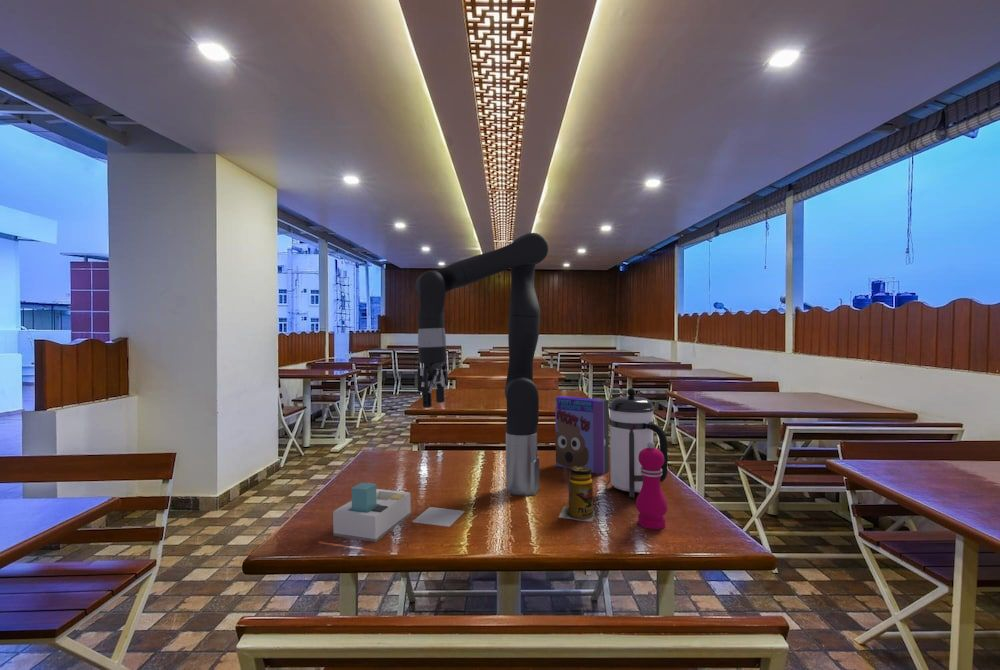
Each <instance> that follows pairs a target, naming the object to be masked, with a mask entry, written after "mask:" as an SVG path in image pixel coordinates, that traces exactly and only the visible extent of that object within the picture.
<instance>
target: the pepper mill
mask: <svg viewBox="0 0 1000 670" xmlns="http://www.w3.org/2000/svg"><path fill="white" fill-rule="evenodd" d="M647 446H648V448H644V449H642V450H641V451H640V453H639V456H638V460H639V463H640V464H641V465H642V467H641V474H642V476H643V485H642V488H641V491H640V492H638V495H637V497H636V501H635V502H636V503H635V507H636V510H637V511H638V513H639V514H638V516H637V523H638V525H639V526H640V527H643V528H645V529H647V530H663V529H664V528H665V527H666V517H665V515H666V513H667V512H668V503H667V500H666V497H665V495H664V493H663V489H662V486H661V482H660V476H662V469H661V467H662V466H663V464H664V455H663V453H662V452H661V451H660V449H658V448H656V443H655V441H654V442H651V441H650V442H648V444H647Z"/></svg>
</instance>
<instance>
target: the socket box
mask: <svg viewBox="0 0 1000 670" xmlns="http://www.w3.org/2000/svg"><path fill="white" fill-rule="evenodd" d="M376 505H377V507H375V508H373V509H372V510H371V511H370V512H368V513H364V512H356V511H352V500H350V501H348V502H347V503H344V505H341V506H339V507H338V508H336V509H335V510H332V511H333V512H332V514H333V515H332V516H333V517H332V518H333V519H332V521H333V522H332V523H333V525H332V526H333V530H332V531H333V537H339V538H345V539H352V540H360V541H366V542H373V543H377V542H378V541H379V540H380V539H381V538H383V537H384V536H385V535H386V534H388V533H389V532H391V530H392V531H393V529H394V528H396V527H397V526H398V525H400V524H401V523H402V522H403V521H404V520H406V519H407V518H408V517H409V516H411V492H407V491H401V490H400V491H398V490H391V489H382V488H380V489H379V488H376Z"/></svg>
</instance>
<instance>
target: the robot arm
mask: <svg viewBox="0 0 1000 670" xmlns="http://www.w3.org/2000/svg"><path fill="white" fill-rule="evenodd" d="M548 253H549V243H548V241H547V238H546V237H544V236H543V235H542V234H540V233H538V232H528V233H525V234H523V235H520V236H519V237H517V238H515V240H514V241H512V243H510V244H507V245H504V246H502V247H500V248H497V249H494V250H491V251H488V252H484V253H479V254H478V255H473V256H471V257H466V258H464V259H461V260H458V261H455V262H453V263H451V264H449V265H447V266H446V267H445V266H444V267H442V268H439V269H436V270H426V271H425V272H423V273H422V274H420V275H419V276H418V277H417V279H416V281H415V287H414V288H415V291H416V293H417V294H418V295H419V306H420V307H419V310H418V312H417V323H418V325H417V327H418V333H417V346H418V347H417V349H418V350H417V351H418V352H417V353H418V354H417V355H418V363H419V364H423V368H417V392H419V393H421V394H422V406H423V408H431V407H432V405H433V403H432V400H433V399H432V390H433V387H434V386H435V388H436V389H435V398H436V399H435V400H436V402H437V403H444V402H445V401H446V398H445V389H446V386H448V385H449V381H448V380H449V379H448V377H449V376H448V365H447V364H442V363H446V362H447V344H446V343H447V338H446V337H447V336H446V331H445V313H444V311H445V301H446V300H445V299H446V293H448V292H450V291H452V290H455V289H459V288H463V287H466V286H469V285H473V284H474V283H477V282H480V281H482V280H485V279H487V278H488V277H492V276H494V275H496V274H498V273H501V272H503V271H507V270H509V269H510V278H511V279H510V282H511V283H510V293H509V296H510V297H509V309H508V311H509V312H508V328H507V329H508V332H507V333H508V334H507V335H508V336H507V339H508V356H509V357H508V368H507V374H506V381H505V385H504V386H505V387H504V396H505V400H506V423H505V479H506V480H505V481H506V482H505V486H506V487H505V489H506V490H505V491H506V492H507V494H509V495H514V496H520V497H521V496H535V495H537V493H538V491H540V457H539V456H538V425H539V421H540V420H539V415H540V414H539V413H540V411H539V407H540V406H539V405H540V403H539V401H540V399H539V398H540V397H539V396H540V395H539V389H538V387H537V385H536V384H535V383H534V367H533V366H534V357H535V353H536V350H537V345H538V341H539V335H540V328H541V327H540V324H541V323H540V322H541V309H540V304H539V299H538V295H537V292H536V288H535V271H536V266H537V265H538V264H540V263H541V262H543V261H544V260H545V259H546V257H547V256H548Z"/></svg>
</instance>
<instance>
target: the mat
mask: <svg viewBox="0 0 1000 670" xmlns="http://www.w3.org/2000/svg"><path fill="white" fill-rule="evenodd" d="M464 513H465V510H460V509H459V510H458V509H450V508H449V509H448V508H444V507H443V508H440V507H432V506H429V507H427V509H426V510H424V511H423V512H422V513H421V514H420V515H418V516H417V517H416V518H415V519H413V520H411V523H417V524H423V525H424V524H425V525H431V526H432V525H433V526H440V527H448V528H449V527H451V526H452V525H453V524H454V523H455V522H456V521H457V520H459V518H460V517H461V516H462V515H463V514H464Z"/></svg>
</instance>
